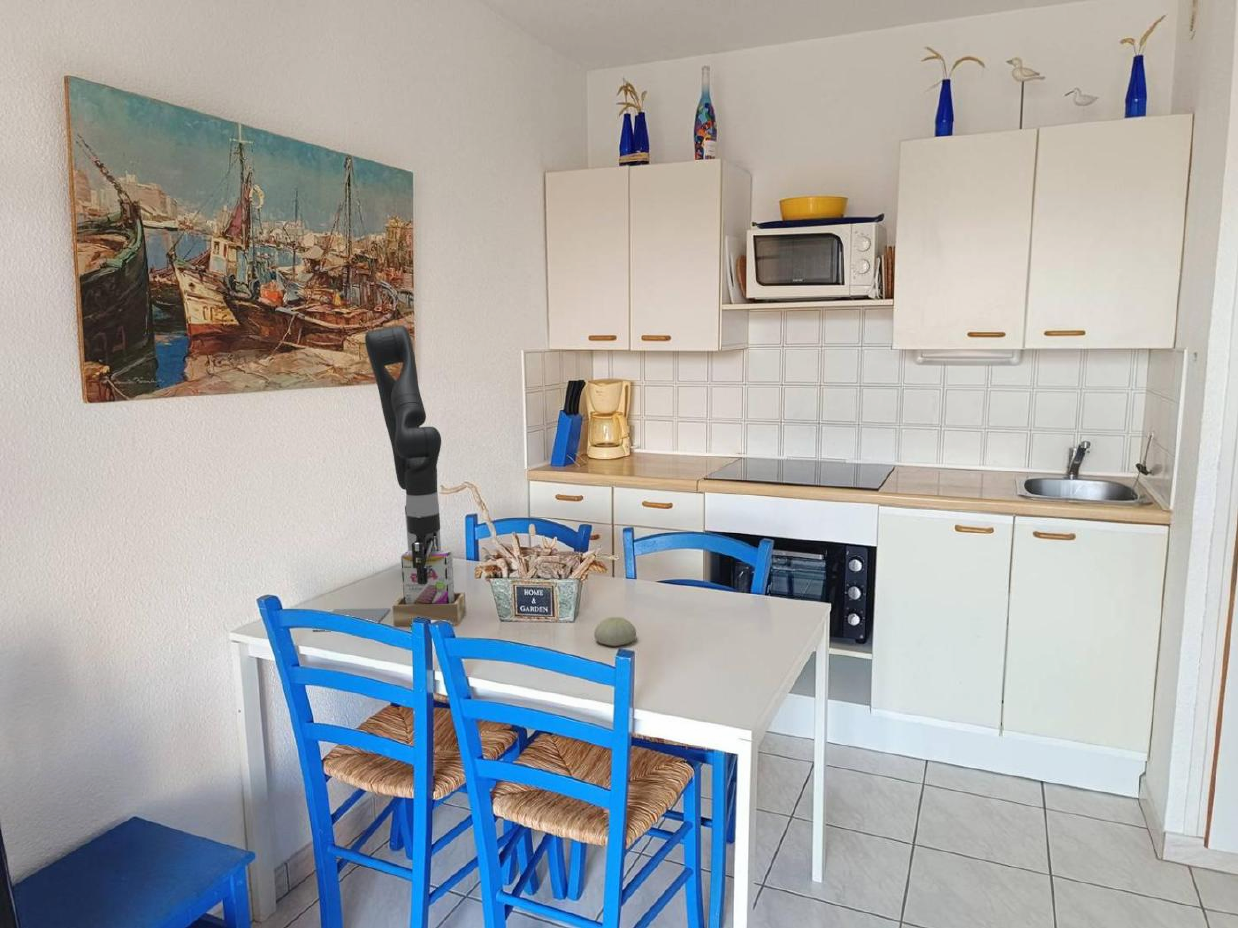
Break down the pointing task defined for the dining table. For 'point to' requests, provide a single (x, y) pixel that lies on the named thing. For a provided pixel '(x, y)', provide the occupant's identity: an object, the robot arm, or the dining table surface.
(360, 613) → the coaster
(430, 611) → the caddy
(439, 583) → the candy bar box
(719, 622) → the dining table surface
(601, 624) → the sea urchin shell
